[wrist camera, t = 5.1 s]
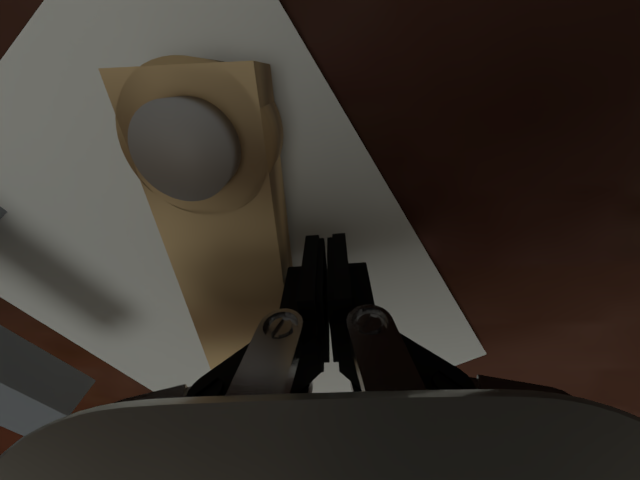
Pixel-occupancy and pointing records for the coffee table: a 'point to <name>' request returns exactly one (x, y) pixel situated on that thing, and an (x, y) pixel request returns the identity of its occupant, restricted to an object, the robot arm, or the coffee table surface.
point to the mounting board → (135, 213)
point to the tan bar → (210, 185)
